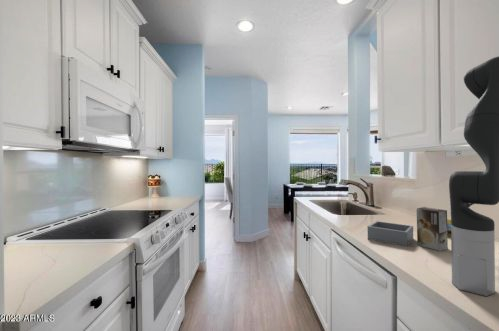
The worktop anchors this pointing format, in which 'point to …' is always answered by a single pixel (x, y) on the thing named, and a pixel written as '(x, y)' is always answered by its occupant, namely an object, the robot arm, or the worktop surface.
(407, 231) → the bin
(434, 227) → the coffee box
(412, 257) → the worktop surface
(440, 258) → the worktop surface
